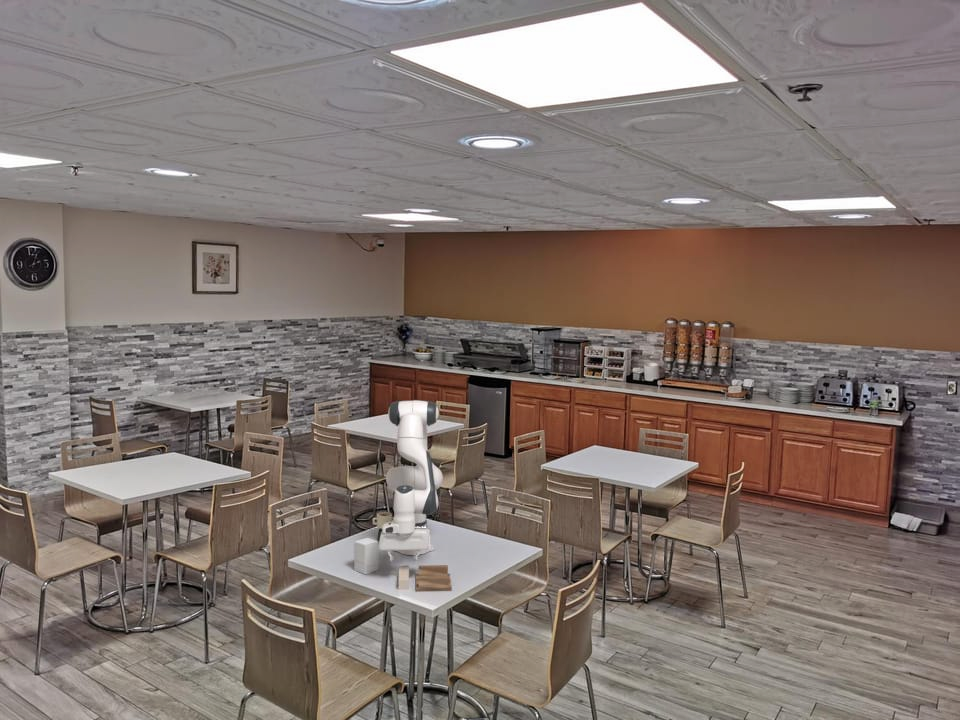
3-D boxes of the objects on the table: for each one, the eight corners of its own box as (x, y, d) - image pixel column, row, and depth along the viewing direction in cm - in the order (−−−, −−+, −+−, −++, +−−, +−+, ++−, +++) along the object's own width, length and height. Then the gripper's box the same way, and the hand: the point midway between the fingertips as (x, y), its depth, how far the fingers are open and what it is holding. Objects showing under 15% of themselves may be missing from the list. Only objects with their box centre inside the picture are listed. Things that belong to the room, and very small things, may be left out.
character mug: (395, 537, 343) (395, 511, 342) (395, 542, 336) (395, 515, 335) (372, 538, 341) (372, 512, 340) (372, 543, 334) (372, 516, 333)
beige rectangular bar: (399, 574, 296) (399, 565, 296) (408, 574, 297) (408, 565, 296) (398, 590, 280) (398, 580, 280) (408, 589, 281) (408, 580, 281)
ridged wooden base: (415, 576, 294) (416, 565, 293) (449, 576, 295) (449, 564, 295) (416, 591, 279) (416, 579, 278) (451, 590, 280) (451, 578, 280)
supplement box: (378, 570, 300) (378, 541, 299) (364, 574, 295) (365, 545, 294) (367, 565, 305) (367, 537, 304) (353, 570, 300) (353, 541, 299)
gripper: (429, 524, 291) (429, 557, 292) (379, 524, 289) (379, 557, 290) (430, 528, 285) (429, 562, 285) (378, 528, 283) (378, 563, 283)
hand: (403, 560), depth 287 cm, fingers open, 8 cm apart
